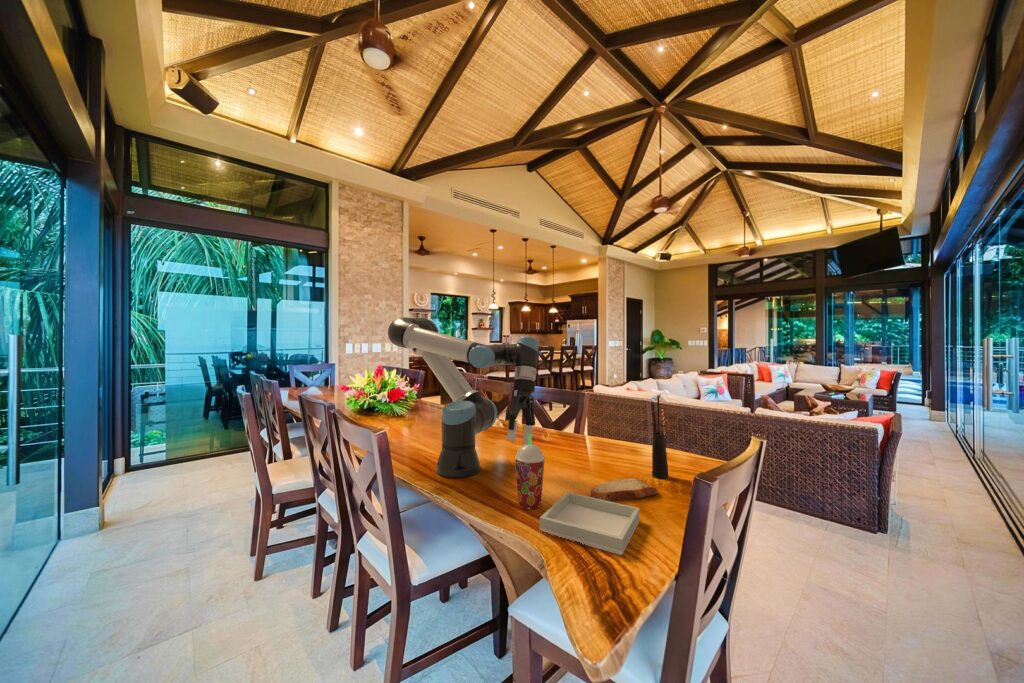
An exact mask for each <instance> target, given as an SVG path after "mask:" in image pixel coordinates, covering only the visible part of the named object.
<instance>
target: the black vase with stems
mask: <svg viewBox="0 0 1024 683" xmlns="http://www.w3.org/2000/svg"><path fill="white" fill-rule="evenodd" d="M656 403H657V432H656V431H655V432H652V438H651V440H652V443H651V444H652V446H651V450H652V451H651V452H652V453H651V454H652V456H651V457H652V459H651V461H652V462H651V463H652V465H651V466H652V467H651V468H652V474H651V475H652V477H653V478H655V479H659V480H664V479H665V480H666V479H668V478H669V466H668V455H667V446H666V437H665V433H663V432H662V430H660V426H661V425H660V396H659V394H658V395H657V402H656Z"/></svg>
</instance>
